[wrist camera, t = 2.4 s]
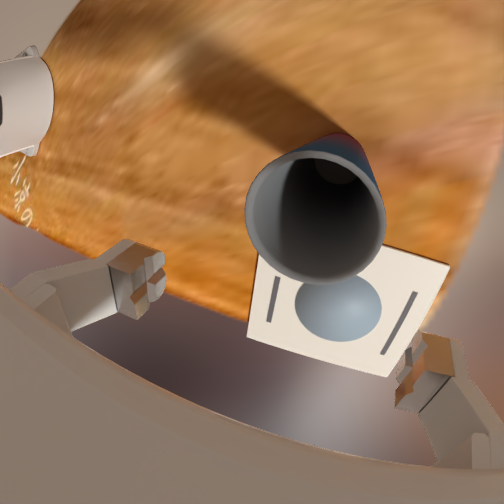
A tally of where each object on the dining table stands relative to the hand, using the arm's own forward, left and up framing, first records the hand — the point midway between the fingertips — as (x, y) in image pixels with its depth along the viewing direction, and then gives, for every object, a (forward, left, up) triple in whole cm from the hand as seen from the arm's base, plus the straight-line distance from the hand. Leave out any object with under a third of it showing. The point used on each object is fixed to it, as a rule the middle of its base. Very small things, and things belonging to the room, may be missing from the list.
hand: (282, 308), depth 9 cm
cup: (0, 0, -21) cm, 21 cm away
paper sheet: (+4, -16, -21) cm, 27 cm away
